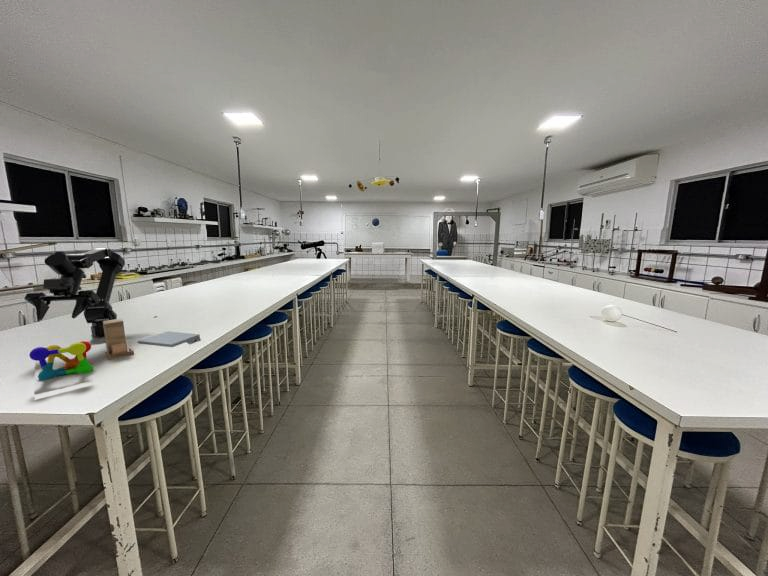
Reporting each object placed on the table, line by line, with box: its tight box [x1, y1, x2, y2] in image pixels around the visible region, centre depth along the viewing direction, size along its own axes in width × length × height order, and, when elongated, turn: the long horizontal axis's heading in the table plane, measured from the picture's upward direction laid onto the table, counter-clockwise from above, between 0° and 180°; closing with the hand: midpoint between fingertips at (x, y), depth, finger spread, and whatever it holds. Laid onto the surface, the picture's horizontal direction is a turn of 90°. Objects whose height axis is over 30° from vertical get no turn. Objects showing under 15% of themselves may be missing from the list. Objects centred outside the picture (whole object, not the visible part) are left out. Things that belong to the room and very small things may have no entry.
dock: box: [137, 330, 201, 347], centre depth 124 cm, size 17×13×2 cm
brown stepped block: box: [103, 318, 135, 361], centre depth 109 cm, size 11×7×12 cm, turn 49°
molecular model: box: [29, 340, 94, 381], centre depth 92 cm, size 15×12×15 cm
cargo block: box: [111, 343, 128, 355], centre depth 108 cm, size 4×4×4 cm
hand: (56, 319), depth 106 cm, fingers open, 9 cm apart
